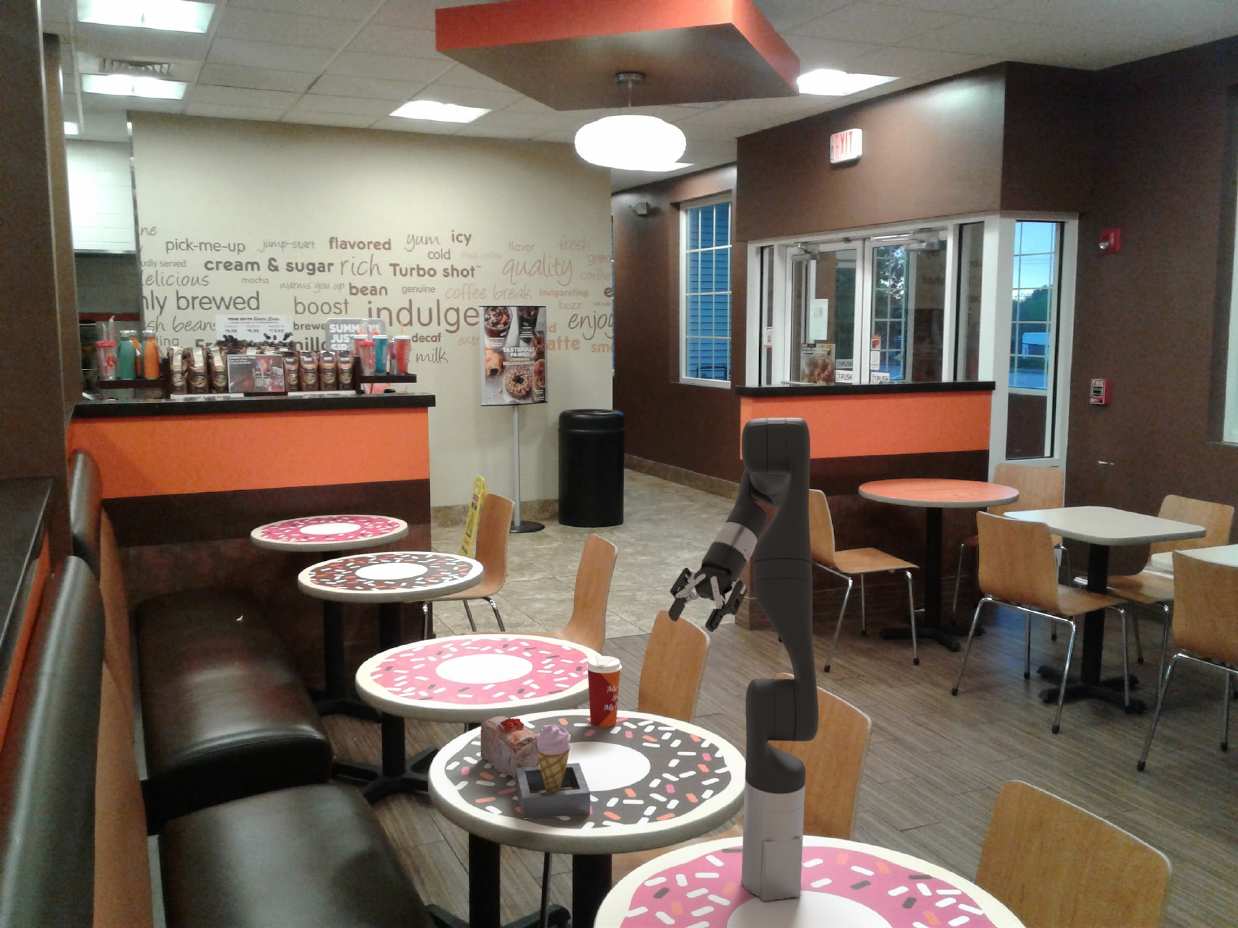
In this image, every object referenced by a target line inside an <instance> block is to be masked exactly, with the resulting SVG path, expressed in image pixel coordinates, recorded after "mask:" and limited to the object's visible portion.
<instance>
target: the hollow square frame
mask: <svg viewBox="0 0 1238 928" xmlns="http://www.w3.org/2000/svg"><path fill="white" fill-rule="evenodd" d="M565 788H572V789H568V790H560V791H554V792H547V791H544V792H534V793H533V792H531V791H541V790H546V788H545V785H544V781H543V778H542V774H541V770H540V766H533V767H521V768H516V778H515V790H516V795H517V800H518V804H519V809H520V813H522V814H521V817H523V818H535V819H543V818H544V819H545V818H553V817H554V816H557V817H566V816H577V815H587V814H589V815H590V814H591V791H590V789H589V786H588V783H587V780H586V778H585V775H584V773H583V770H582V767H581V763H580V762H573V763H567V765H566V769H565V773H564V777H563V781H562V784H561V788H560V789H565ZM523 818H522V819H523Z"/></svg>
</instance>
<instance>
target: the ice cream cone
mask: <svg viewBox="0 0 1238 928" xmlns="http://www.w3.org/2000/svg"><path fill="white" fill-rule="evenodd" d="M535 734H536V735H535V736H534V737H532V738H533V739H535V738H536V739H537V748H536V751H537V756H538V761H539V766H540V770H541V774H542V778H543V781H544V785H545V788H546V789H545V792H554V791H561V789H562V788H561V784H562V781H563V777H564V773H565V769H566V765H567V764H568V759H569V755H570V749H571V747H572V745H571V743H570V741H571V735H570V733H569V732H568V730H567V729H566V728H565V727H563V726H560V725H558V724H544V725H542V730H539V733H538V734H537V733H535Z"/></svg>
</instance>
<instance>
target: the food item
mask: <svg viewBox="0 0 1238 928" xmlns="http://www.w3.org/2000/svg"><path fill="white" fill-rule="evenodd" d="M536 734H537V733H535V732H534V731H531V730H529V729H528V728H526V727H525V723H523V721H522V720H521V719H520V718H518V717H516V718H513V717H512V718H511V717H508V716H504V715H501V716H493V717H492V718H488V719H486V720H484V721H482V722H481V723H480V758H481V760H484V761H488V763H489V764H491V765H493V766H494V767H493V768H494V771H495V772H497V773H503V774H505V775H508V776H511V777H512V779H516V768H521V767H533V766H539V761H538V756H537V751H536V748H537V739H536V738H535V739H533V738H532V737H534V736H535V735H536Z"/></svg>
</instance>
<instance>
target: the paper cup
mask: <svg viewBox="0 0 1238 928" xmlns="http://www.w3.org/2000/svg"><path fill="white" fill-rule="evenodd" d="M622 667H623V666H622V664H621V661H620V660H619V658H617V657H614V656H608V655H600V656H599V655H598V656H593V657H591V658H590V659H589V660H588V662H587V664H586V666H585V668H586V670H587V680H588V698H589V699H588V700H589V701H588V702H589V703H588V704H589V720H590V724H591V725H592V726H593V725H594V726H593V727H595V726H597V727H596V728H600V727H607V728H612V727H613V725H614V726H616V723H617V718H618V706H619V703H618V702H619V693H620V692H619V690H620V677H621V676H620V675H621V669H622Z"/></svg>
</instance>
